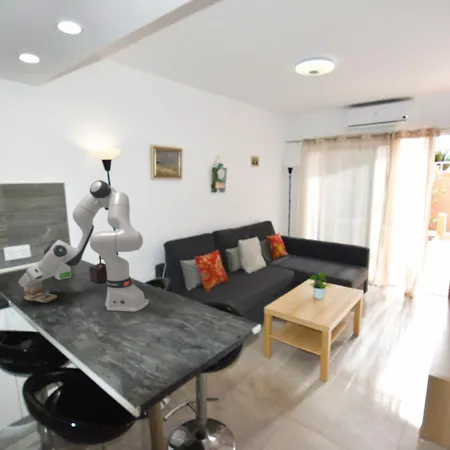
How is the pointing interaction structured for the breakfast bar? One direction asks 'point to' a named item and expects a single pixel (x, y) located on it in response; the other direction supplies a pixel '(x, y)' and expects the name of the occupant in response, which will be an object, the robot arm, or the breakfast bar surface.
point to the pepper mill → (98, 272)
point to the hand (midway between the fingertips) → (32, 284)
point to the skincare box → (63, 272)
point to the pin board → (41, 297)
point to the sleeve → (34, 288)
